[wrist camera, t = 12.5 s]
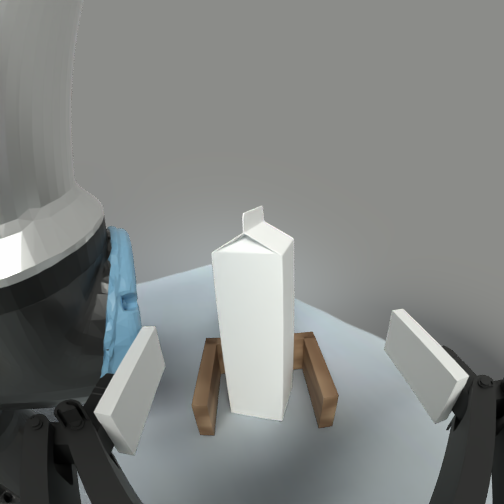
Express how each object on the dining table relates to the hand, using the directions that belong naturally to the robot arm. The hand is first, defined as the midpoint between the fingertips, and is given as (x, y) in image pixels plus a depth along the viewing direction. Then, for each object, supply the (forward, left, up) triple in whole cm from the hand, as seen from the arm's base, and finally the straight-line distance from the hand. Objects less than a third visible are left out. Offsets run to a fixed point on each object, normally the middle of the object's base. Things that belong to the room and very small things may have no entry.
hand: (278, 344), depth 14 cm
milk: (-3, +11, -16) cm, 20 cm away
